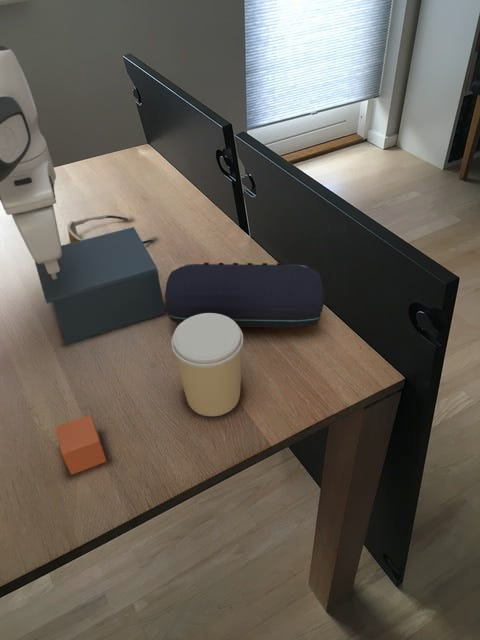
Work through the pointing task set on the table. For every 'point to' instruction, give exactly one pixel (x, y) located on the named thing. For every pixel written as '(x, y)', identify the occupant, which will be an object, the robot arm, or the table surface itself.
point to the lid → (96, 264)
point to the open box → (109, 307)
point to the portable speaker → (246, 294)
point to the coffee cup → (209, 362)
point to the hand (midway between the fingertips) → (48, 254)
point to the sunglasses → (72, 225)
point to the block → (80, 444)
